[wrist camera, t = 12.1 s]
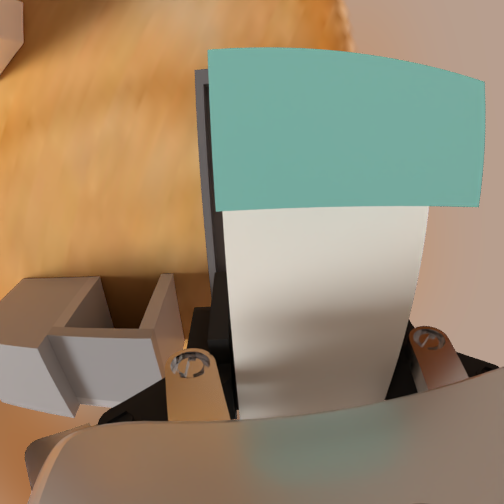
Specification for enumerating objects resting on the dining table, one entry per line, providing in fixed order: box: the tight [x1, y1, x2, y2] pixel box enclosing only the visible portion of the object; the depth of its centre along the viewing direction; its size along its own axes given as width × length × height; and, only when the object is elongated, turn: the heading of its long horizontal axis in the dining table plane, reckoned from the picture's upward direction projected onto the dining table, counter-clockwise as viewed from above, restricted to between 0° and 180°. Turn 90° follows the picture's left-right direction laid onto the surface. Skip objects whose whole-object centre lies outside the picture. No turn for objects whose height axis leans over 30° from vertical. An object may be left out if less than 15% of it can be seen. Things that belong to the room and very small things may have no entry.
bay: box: [0, 273, 185, 418], centre depth 22 cm, size 7×16×10 cm, turn 92°
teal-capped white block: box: [208, 48, 485, 420], centre depth 8 cm, size 11×4×6 cm, turn 2°
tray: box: [195, 69, 227, 297], centre depth 22 cm, size 16×8×2 cm, turn 2°
